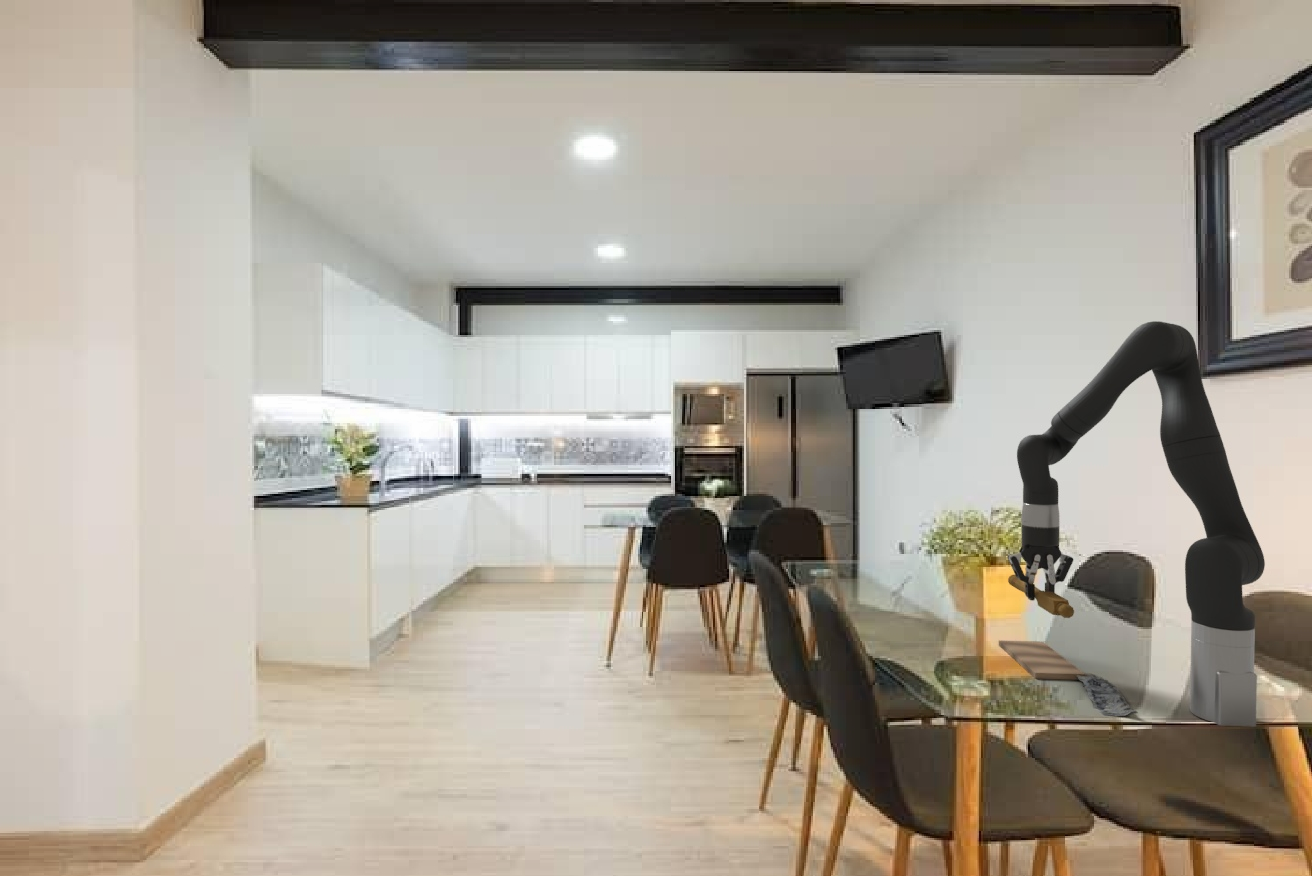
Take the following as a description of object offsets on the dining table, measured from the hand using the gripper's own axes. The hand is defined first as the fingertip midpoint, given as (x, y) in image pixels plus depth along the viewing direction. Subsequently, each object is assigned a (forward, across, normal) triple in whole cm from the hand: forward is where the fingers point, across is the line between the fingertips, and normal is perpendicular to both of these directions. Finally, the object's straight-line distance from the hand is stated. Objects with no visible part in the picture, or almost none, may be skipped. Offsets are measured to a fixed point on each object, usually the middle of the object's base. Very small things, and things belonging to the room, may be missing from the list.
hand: (1039, 599), depth 164 cm
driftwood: (+15, +4, -20) cm, 25 cm away
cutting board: (+14, 0, 0) cm, 14 cm away
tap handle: (+1, 0, 0) cm, 1 cm away
